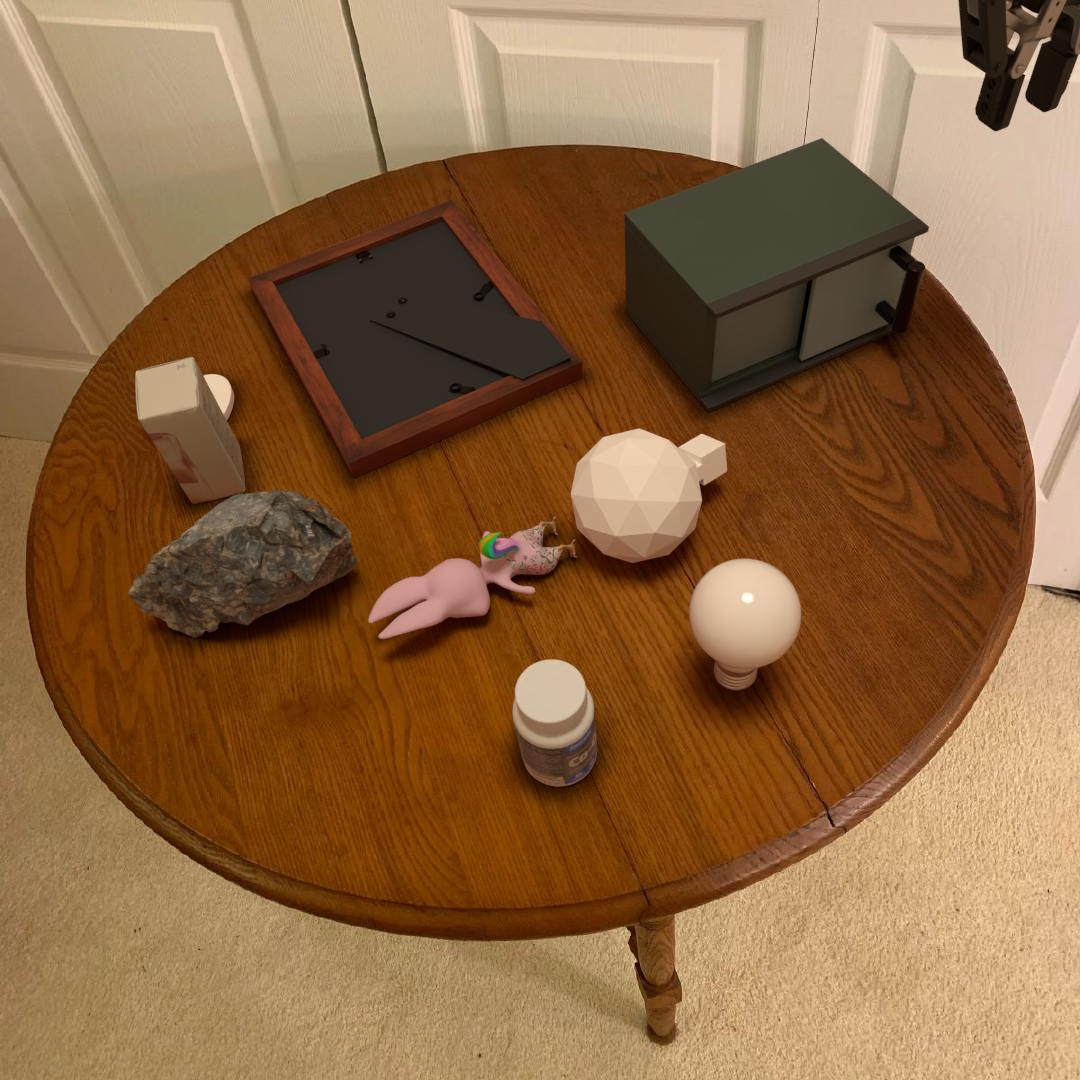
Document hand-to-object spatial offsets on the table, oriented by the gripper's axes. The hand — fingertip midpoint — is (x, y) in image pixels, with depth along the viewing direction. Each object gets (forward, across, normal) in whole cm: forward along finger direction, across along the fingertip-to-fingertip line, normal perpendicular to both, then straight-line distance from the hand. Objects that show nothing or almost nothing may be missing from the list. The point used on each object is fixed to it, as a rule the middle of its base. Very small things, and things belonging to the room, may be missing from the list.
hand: (1016, 113), depth 64 cm
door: (+18, -8, +1) cm, 20 cm away
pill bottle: (+19, -43, -18) cm, 50 cm away
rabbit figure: (+19, -43, -4) cm, 47 cm away
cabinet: (+19, -12, +9) cm, 24 cm away
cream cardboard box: (+19, -56, +15) cm, 62 cm away
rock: (+19, -57, +2) cm, 60 cm away
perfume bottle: (+19, -29, -5) cm, 36 cm away
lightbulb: (+19, -31, -18) cm, 41 cm away
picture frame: (+19, -38, +23) cm, 48 cm away
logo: (+19, -56, +24) cm, 64 cm away
